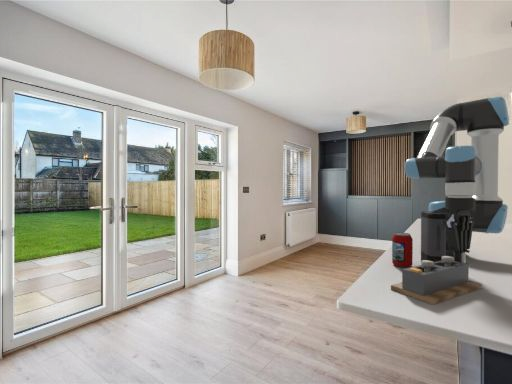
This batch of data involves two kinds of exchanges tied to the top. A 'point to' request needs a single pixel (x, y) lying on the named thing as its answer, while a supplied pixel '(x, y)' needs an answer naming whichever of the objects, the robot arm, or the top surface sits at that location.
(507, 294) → the top surface
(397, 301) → the top surface
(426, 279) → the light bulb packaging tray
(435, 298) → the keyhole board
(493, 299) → the top surface
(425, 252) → the electronic device
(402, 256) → the beverage can
